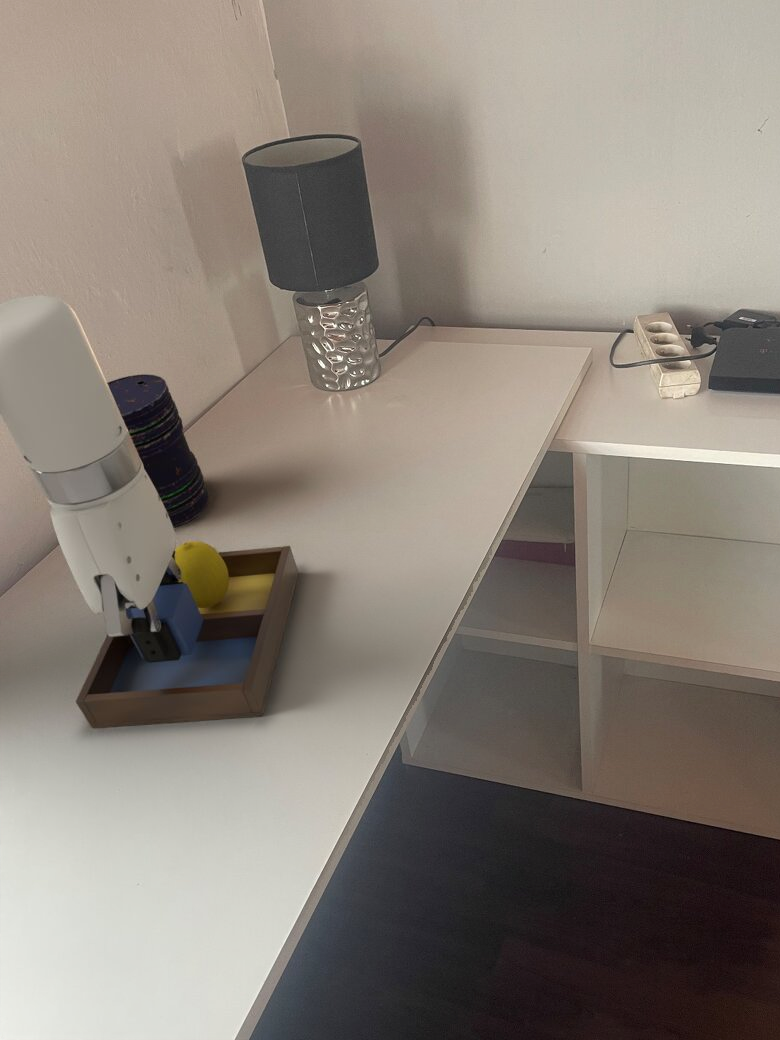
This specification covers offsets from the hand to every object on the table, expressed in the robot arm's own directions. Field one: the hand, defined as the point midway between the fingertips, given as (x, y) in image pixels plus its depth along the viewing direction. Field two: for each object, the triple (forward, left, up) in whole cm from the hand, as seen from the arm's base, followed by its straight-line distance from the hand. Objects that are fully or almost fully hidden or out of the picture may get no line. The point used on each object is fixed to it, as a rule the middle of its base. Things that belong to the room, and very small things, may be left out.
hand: (171, 636), depth 77 cm
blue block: (0, 0, 0) cm, 0 cm away
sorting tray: (0, +5, -6) cm, 7 cm away
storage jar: (-11, +30, -6) cm, 32 cm away
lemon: (0, +10, -5) cm, 11 cm away
